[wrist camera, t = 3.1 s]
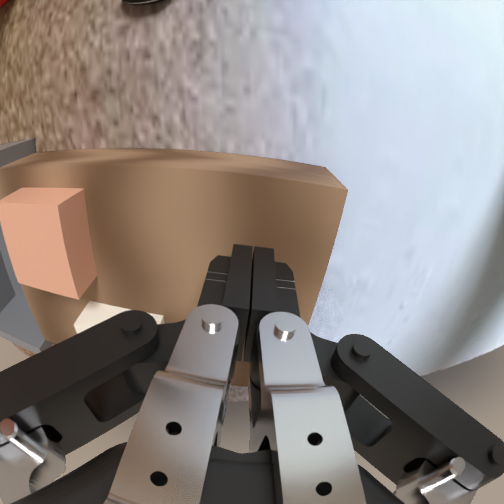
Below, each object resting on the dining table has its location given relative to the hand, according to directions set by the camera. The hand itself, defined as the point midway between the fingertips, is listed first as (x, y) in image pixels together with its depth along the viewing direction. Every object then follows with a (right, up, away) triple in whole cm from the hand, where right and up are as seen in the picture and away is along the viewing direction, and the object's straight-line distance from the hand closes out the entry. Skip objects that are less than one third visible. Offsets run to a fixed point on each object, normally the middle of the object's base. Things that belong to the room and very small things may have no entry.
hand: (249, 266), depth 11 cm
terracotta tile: (-10, +2, 0) cm, 10 cm away
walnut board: (-6, 0, +6) cm, 8 cm away
